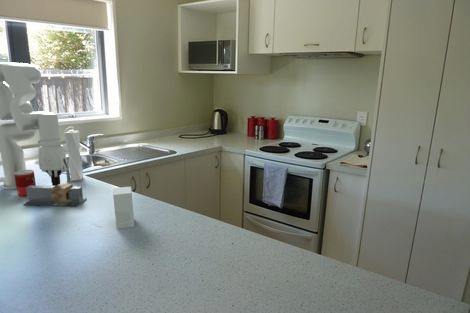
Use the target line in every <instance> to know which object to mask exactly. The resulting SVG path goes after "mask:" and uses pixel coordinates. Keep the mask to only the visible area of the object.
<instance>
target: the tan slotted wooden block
mask: <svg viewBox="0 0 470 313" xmlns="http://www.w3.org/2000/svg"><path fill="white" fill-rule="evenodd" d="M73 184H74V183H60V184H59V185H57V186H54V187H52V188H51V194H52V201H67V197H66V193H68V192H70V188H72V187H74V185H73Z"/></svg>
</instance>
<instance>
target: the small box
mask: <svg viewBox="0 0 470 313" xmlns="http://www.w3.org/2000/svg"><path fill="white" fill-rule="evenodd" d="M132 191H133V190H132V186H123V187H121V186H120V187H114V188H113V191H112V192H113V195H112V196H113V197H112V198H113V206H114V214H115V217H114V218H115V226H116V229H117V230H118V229H119V230H120V229H127V228H134V227H135V216H134V203H133V196H132V195H133V194H132V193H133V192H132Z"/></svg>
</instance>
